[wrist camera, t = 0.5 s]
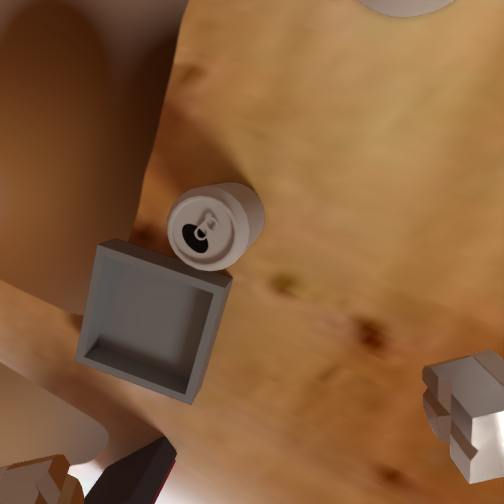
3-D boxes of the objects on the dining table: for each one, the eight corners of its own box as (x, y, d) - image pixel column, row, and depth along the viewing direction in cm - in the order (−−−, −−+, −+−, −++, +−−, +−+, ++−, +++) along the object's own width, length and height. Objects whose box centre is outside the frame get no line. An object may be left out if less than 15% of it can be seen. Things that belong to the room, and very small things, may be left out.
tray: (115, 238, 47) (97, 244, 43) (233, 277, 46) (225, 288, 42) (93, 346, 51) (74, 361, 47) (201, 386, 49) (191, 405, 46)
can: (188, 209, 45) (141, 224, 33) (237, 167, 43) (206, 167, 31) (228, 260, 45) (196, 293, 34) (279, 221, 43) (264, 241, 32)
